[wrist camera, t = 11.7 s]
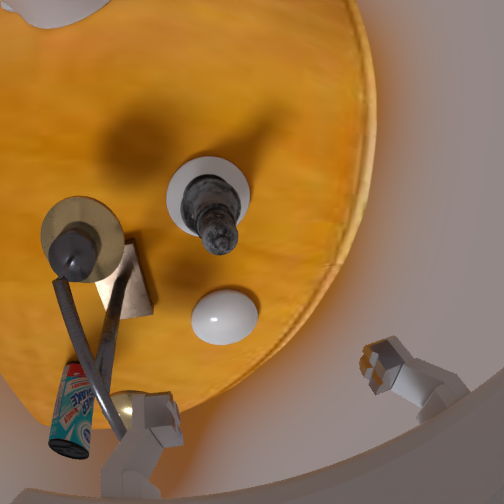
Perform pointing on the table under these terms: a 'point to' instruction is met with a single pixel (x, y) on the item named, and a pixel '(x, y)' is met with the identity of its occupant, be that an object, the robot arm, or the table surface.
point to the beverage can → (72, 414)
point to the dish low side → (200, 168)
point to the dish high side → (224, 317)
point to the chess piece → (212, 212)
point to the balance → (108, 284)
